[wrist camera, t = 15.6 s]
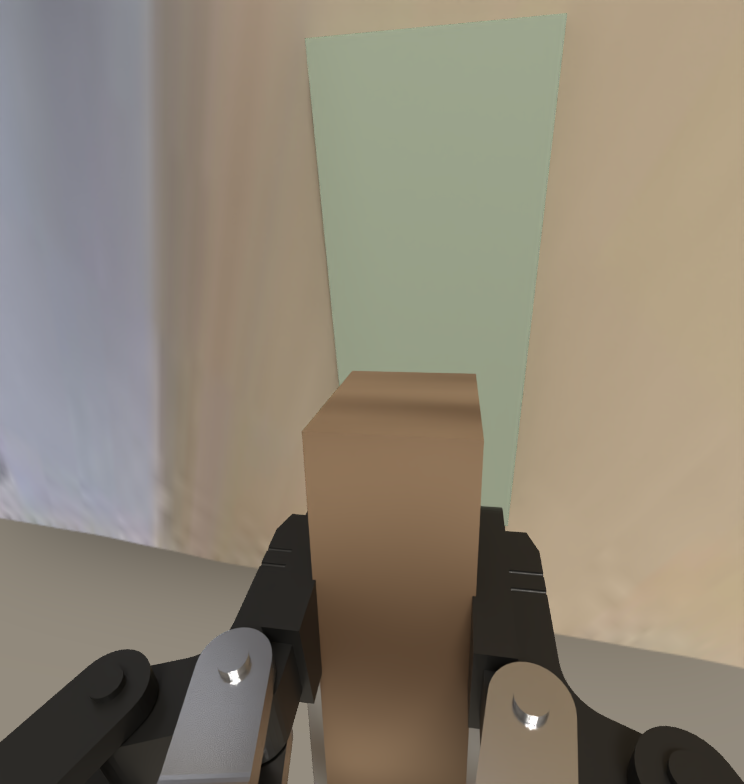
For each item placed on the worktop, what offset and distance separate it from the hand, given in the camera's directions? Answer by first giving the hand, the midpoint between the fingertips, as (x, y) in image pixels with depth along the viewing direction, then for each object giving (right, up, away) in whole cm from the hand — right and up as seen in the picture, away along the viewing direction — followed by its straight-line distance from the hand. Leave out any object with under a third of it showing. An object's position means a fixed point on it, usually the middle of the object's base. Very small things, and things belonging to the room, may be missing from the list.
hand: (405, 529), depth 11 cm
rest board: (+2, +7, +12) cm, 13 cm away
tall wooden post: (0, -3, +2) cm, 4 cm away
